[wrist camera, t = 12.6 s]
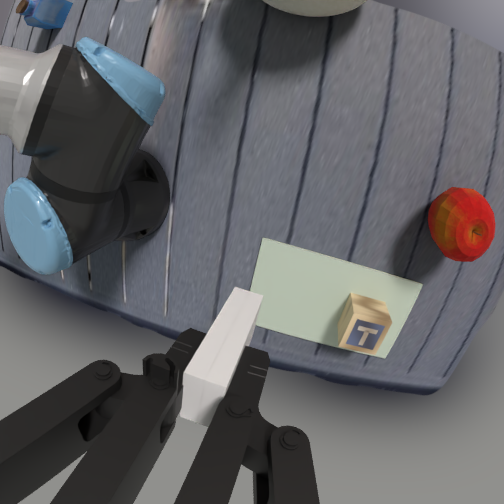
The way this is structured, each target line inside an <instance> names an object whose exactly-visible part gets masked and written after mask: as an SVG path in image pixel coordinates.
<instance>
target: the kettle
mask: <svg viewBox="0 0 504 504" xmlns="http://www.w3.org/2000/svg"><path fill="white" fill-rule="evenodd" d="M262 1H264V2H265V3H267V4H269V5H270V6H272V7H274V8H277V9H279V10H282V11H285V12H288V13H291V14H296V15H301V16H310V17H324V16H333V15H338V14H342V13H345V12H348V11H351V10H353V9H355V8H357V7H359V6H360V5H362V4H363V3H364V2H366V1H367V0H262Z"/></svg>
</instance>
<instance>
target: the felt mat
mask: <svg viewBox="0 0 504 504" xmlns="http://www.w3.org/2000/svg"><path fill="white" fill-rule="evenodd" d="M422 286H423V284H422V283H418V282H415V281H412V280H409V279H405V278H402V277H399V276H395V275H392V274H389V273H385V272H382V271H378V270H375V269H372V268H368V267H365V266H362V265H358V264H355V263H351V262H348V261H344V260H341V259H338V258H334V257H331V256H327V255H324V254H320V253H317V252H313V251H310V250H306V249H303V248H299V247H296V246H292V245H288V244H285V243H281V242H278V241H274V240H271V239H267V238H263V239H262V243H261V247H260V251H259V255H258V259H257V264H256V268H255V272H254V276H253V280H252V284H251V288H250V292H253V293H257V294H260V295H264V296H263V299H262V303H261V307H260V310H259V314H258V318H257V321H256V325H257V326H260V327H263V328H267V329H270V330H274V331H277V332H281V333H284V334H288V335H291V336H295V337H299V338H302V339H306V340H310V341H314V342H318V343H321V344H325V345H329V346H333V347H337V348H341V349H346V350H350V351H354V352H358V353H363V354H367V355H371V356H376V357H381V358H386V356H387V354H388V353H389V351H390V349H391V347H392V345H393V344H394V342H395V340H396V338H397V336H398V335H399V333H400V331H401V329H402V327H403V325H404V323H405V321H406V319H407V317H408V315H409V313H410V311H411V309H412V307H413V305H414V303H415V301H416V299H417V297H418V295H419V292H420V290H421V288H422ZM350 293H354V294H358V295H361V296H365V297H369V298H372V299H376V300H380V301H383V302H385V303H386V306H387V309H388V311H389V314H390V317H391V320H392V324H391V326H390V328H389V330H388V332H387V334H386V336H385V338H384V340H383V342H382V344H381V345H380V347H379V349H378V351H377V353H376V354H375V355H372V354H368V353H364V352H359V351H355V350H351V349H347V348H342V347H338V326H337V324H338V322H339V319H340V317H341V315H342V312H343V310H344V307H345V305H346V303H347V300H348V298H349V295H350Z"/></svg>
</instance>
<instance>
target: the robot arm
mask: <svg viewBox="0 0 504 504" xmlns="http://www.w3.org/2000/svg"><path fill="white" fill-rule="evenodd" d="M164 97H165V86H164V84H163V82H162V81H161V80H160V79H159V78H157V77H156V76H155V75H153V74H152V73H150V72H149V71H147V70H145V69H144V68H142V67H141V66H139V65H137V64H136V63H134V62H132V61H131V60H129V59H127V58H126V57H124V56H122V55H120V54H119V53H117V52H115V51H113V50H112V49H110V48H108V47H106V46H104V45H102V44H100V43H98V42H96V41H94V40H92V39H90V38H88V37H84V38H82V39H81V40H80V41H79V42H77V43H76V48H73V47H69V46H66V45H63V44H59V45H57V46H55V47H53V48H51V49H49V50H47V51H45V52H43V53H39V54H38V53H33V52H29V51H25V50H21V49H16V48H11V47H6V46H1V45H0V135H5V136H8V137H9V138H10V139H11V140H12V142H13V144H14V146H15V148H16V149H17V151H18V153H19V154H23V155H28V156H33V158H32V162H31V165H30V169H29V173H28V176H27V177H26V178H24V177H22V178H18V179H17V180H16V181H15V182H13V184H11V185H10V186H9V187H8V189H7V191H6V195H5V200H4V215H5V222H6V226H7V230H8V233H9V236H10V238H11V241H12V243H13V245H14V247H15V249H16V251H17V253H18V254H19V256H20V257H21V259H22V260H23V261H24V262H25V263H26V264H27V265H28V266H29V267H30V268H31V269H32V270H34V271H35V272H37V273H40V274H43V275H45V274H47V275H50V274H54V273H56V272H58V271H61V270H63V269H67V268H69V267H70V266H71V265H72V264H73V263H75V262H77V261H78V260H80V259H82V258H84V257H85V256H87V255H89V254H91V253H93V252H94V251H96V250H98V249H100V248H102V247H103V246H105V245H107V244H109V243H111V242H112V241H133V240H138V239H141V238H144V237H145V236H147V235H149V234H151V233H152V232H154V231H155V230H156V229H157V228H158V227H159V226H160V225H161V224H162V222H163V221H164V219H165V217H166V215H167V212H168V208H169V203H170V189H169V184H168V180H167V177H166V174H165V172H164V170H163V168H162V167H161V165H160V164H159V163H158V161H157V160H156V159H155V158H154V157H153V156H151V155H150V154H148V153H147V152H145V151H142V150H139V147H140V145H141V143H142V141H143V139H144V137H145V135H146V133H147V132H148V130H149V128H150V126H152V125H153V123H154V121H153V120H154V117H155V115H156V113H157V111H158V109H159V107H160V105H161V104H162V102H163V100H164ZM263 296H264V295H260V294H257V293H253V292H250V291H247V290H243V289H240V288H237V287H235V288H234V290H233V291H232V293H231V295H230V296H229V298H228V300H227V301H226V303H225V305H224V306H223V308H222V310H221V311H220V313H219V315H218V316H217V318H216V320H215V321H214V323H213V325H212V326H211V328H210V330H209V331H208V333H207V334H206V333H203V332H200V331H197V330H194V329H192V328H190V329H188V330H186V331H184V332H182V333H181V334H180V336H179V337H178V338H177V340H176V342H175V343H174V344H173V345H172V348H170V349H169V351H168V352H167V353H166V355H165V354H151V355H148V356H146V357H145V358H144V359H143V375H133V374H127V373H121V372H120V369H119V367H118V366H117V365H116V364H114V363H113V362H111V361H107V360H98V361H95V362H93V363H91V364H89V365H88V366H86V367H85V368H83V369H81V370H80V371H78V372H77V373H75V374H73V375H72V376H70V377H69V378H67V379H66V380H64V381H62V382H61V383H59V384H58V385H56V386H55V387H53V388H52V389H50V390H48V391H47V392H45V393H43V394H42V395H40V396H39V397H37V398H36V399H34V400H32V401H31V402H29V403H28V404H26V405H25V406H23V407H21V408H20V409H18V410H16V411H15V412H13V413H12V414H10V415H9V416H7V417H5V418H4V419H2V420H1V421H0V504H17V503H19V502H20V501H21V500H23V499H24V498H26V497H27V496H28V495H30V494H31V493H33V492H34V491H35V490H37V489H38V488H40V487H41V486H42V485H43V484H45V483H46V482H48V481H49V480H50V479H52V478H53V477H54V476H55V475H57V474H58V473H60V472H61V471H62V470H63V469H65V468H66V467H67V466H68V465H70V464H71V463H72V462H74V461H75V460H76V459H77V458H79V457H80V456H81V455H83V454H84V453H85V452H86V451H87V453H86V454H85V455H84V457H83V458H82V460H81V461H80V462H79V464H78V465H77V466H76V468H75V469H74V471H73V472H72V474H71V475H70V476H69V478H68V479H67V480H66V482H65V483H64V485H63V486H62V487H61V489H60V490H59V492H58V493H57V495H56V496H55V497H54V499H53V500H52V502H51V503H50V504H133V503H134V501H135V499H136V497H137V495H138V494H139V492H140V490H141V488H142V486H143V484H144V483H145V481H146V479H147V477H148V475H149V473H150V472H151V470H152V468H153V466H154V464H155V462H156V461H157V459H158V457H159V455H160V453H161V451H162V450H163V448H164V446H165V444H166V442H167V440H168V438H169V436H170V435H171V433H172V431H173V429H174V427H175V423H176V417H177V415H178V414H179V412H180V417H183V418H186V419H188V420H191V421H193V422H196V423H199V424H202V425H204V426H207V427H208V430H207V432H206V434H205V436H204V439H203V441H202V443H201V446H200V448H199V450H198V452H197V455H196V457H195V459H194V461H193V464H192V466H191V468H190V470H189V472H188V474H187V477H186V479H185V481H184V483H183V485H182V487H181V490H180V492H179V494H178V496H177V498H176V501H175V503H174V504H228V502H229V500H230V497H231V494H232V490H233V488H234V485H235V482H236V479H237V476H238V472H239V469H240V466H241V464H242V465H243V466H245V467H246V468H248V469H250V470H252V471H253V493H254V504H320V503H319V497H318V490H317V484H316V478H315V472H314V466H313V460H312V454H311V448H310V442H309V439H308V437H307V435H306V434H305V433H304V432H303V431H302V430H300V429H298V428H296V427H293V426H281V427H279V428H278V427H276V426H274V425H272V424H271V423H269V422H268V421H266V420H265V419H264V418H263V417H262V416H261V414H260V412H259V408H258V404H259V400H260V396H261V393H262V389H263V385H264V382H265V378H266V375H267V371H268V367H269V363H270V359H269V356H268V352H265V351H262V350H258V349H255V348H252V347H249V344H250V341H251V339H252V336H253V332H254V329H255V325H256V321H257V318H258V314H259V310H260V307H261V303H262V299H263Z"/></svg>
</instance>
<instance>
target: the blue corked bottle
mask: <svg viewBox="0 0 504 504" xmlns="http://www.w3.org/2000/svg"><path fill="white" fill-rule="evenodd" d="M72 4H73V3H71V2H68V1H66V0H36V1H32V0H27V1H26V0H22V1H21V2H20V3H19V5H18V6H17V9H16V13H20V15H25V17H24V20H25V21H26V23H27V25H29V26H34V27H39V28H44V29H55V28H62V27H63V24H64V22H65V20H66V17H67V15H68V13H69V11H70V8H71V6H72Z"/></svg>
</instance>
